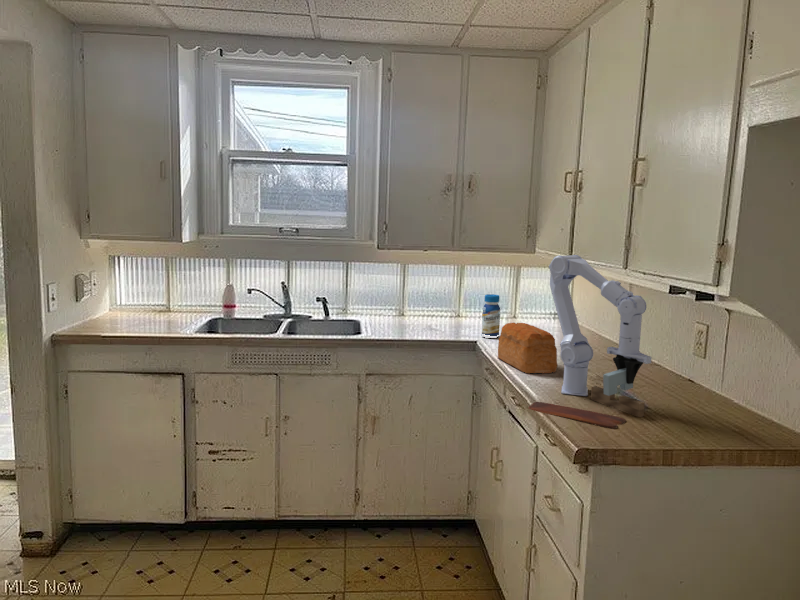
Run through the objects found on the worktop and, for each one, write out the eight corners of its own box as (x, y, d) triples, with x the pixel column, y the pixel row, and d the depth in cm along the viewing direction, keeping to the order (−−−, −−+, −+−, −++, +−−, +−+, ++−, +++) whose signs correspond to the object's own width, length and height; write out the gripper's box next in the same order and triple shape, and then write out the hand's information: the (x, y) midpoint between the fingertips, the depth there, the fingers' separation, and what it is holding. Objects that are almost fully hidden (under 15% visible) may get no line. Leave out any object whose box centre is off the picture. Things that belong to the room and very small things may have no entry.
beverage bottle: (499, 336, 277) (501, 294, 275) (499, 339, 269) (501, 296, 266) (481, 335, 279) (483, 293, 276) (480, 338, 271) (482, 295, 268)
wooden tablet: (627, 422, 162) (627, 416, 162) (615, 432, 154) (616, 426, 154) (537, 402, 178) (538, 397, 178) (522, 410, 170) (523, 404, 170)
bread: (526, 356, 237) (528, 319, 235) (559, 373, 212) (562, 332, 210) (494, 357, 234) (495, 320, 232) (524, 375, 208) (526, 333, 206)
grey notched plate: (608, 395, 169) (608, 376, 168) (603, 393, 171) (603, 374, 170) (633, 387, 174) (633, 368, 173) (627, 386, 176) (627, 367, 174)
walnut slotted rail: (590, 399, 180) (591, 386, 180) (595, 398, 181) (596, 386, 181) (638, 417, 165) (639, 403, 164) (643, 416, 165) (644, 402, 165)
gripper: (660, 340, 167) (656, 386, 169) (619, 331, 180) (616, 374, 182) (643, 342, 164) (639, 389, 166) (603, 333, 177) (600, 377, 178)
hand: (626, 382), depth 174 cm, fingers closed on grey notched plate, 2 cm apart
